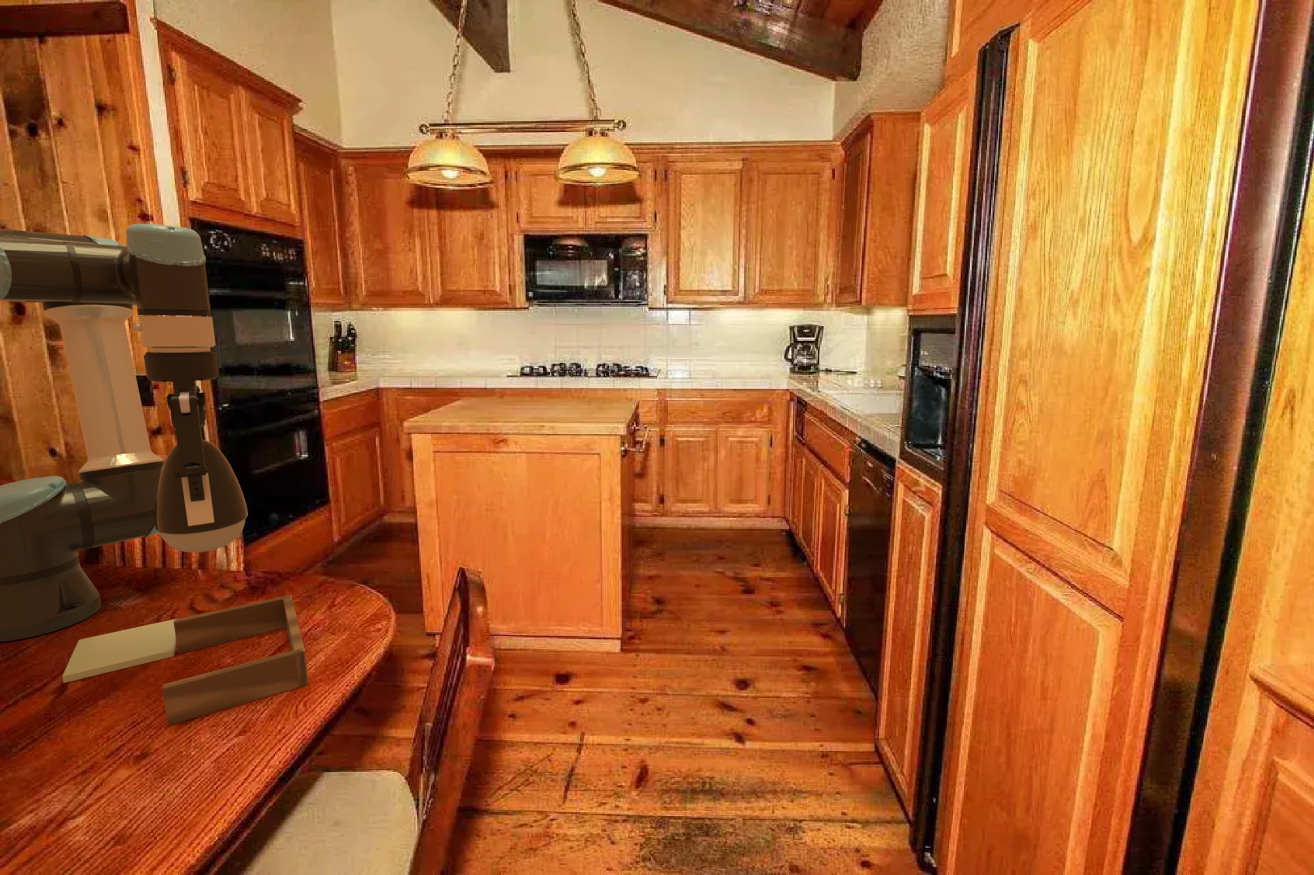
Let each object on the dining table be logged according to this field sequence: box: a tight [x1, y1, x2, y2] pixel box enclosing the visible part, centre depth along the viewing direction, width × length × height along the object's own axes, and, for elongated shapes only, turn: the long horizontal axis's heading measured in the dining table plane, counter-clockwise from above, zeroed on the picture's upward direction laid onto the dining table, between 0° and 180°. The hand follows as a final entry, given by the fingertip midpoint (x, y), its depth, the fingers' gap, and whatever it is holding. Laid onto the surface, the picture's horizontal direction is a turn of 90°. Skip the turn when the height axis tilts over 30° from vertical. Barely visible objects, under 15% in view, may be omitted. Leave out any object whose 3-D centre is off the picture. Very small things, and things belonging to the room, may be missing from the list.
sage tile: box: [61, 618, 177, 684], centre depth 91 cm, size 12×12×1 cm
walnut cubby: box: [162, 594, 310, 726], centre depth 87 cm, size 21×15×5 cm
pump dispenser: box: [155, 439, 249, 553], centre depth 82 cm, size 10×10×15 cm
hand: (202, 512), depth 83 cm, fingers closed on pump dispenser, 10 cm apart
